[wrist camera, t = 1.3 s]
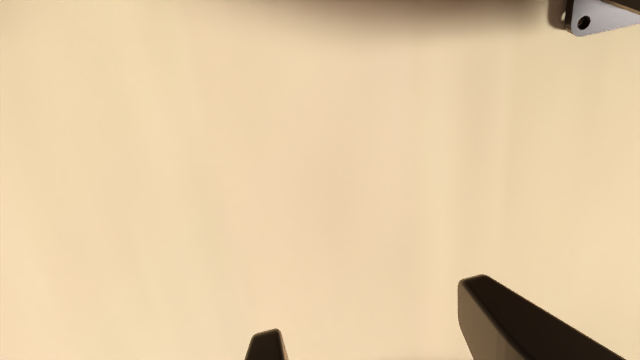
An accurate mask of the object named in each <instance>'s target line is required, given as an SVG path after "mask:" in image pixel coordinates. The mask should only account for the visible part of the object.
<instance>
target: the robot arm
mask: <svg viewBox="0 0 640 360" xmlns="http://www.w3.org/2000/svg"><path fill="white" fill-rule="evenodd" d="M583 16H584V19H583V22H582V23H581V24H580V25H579V26H577V24H578V21H579V20H580V18H581V17H583ZM636 24H640V0H567V5H566V14H565V28H566V30H567V31H568V32H570V33H571V34H574V35H576V36H586V35H591V34H595V33H600V32H604V31H609V30H613V29H618V28H622V27H627V26H631V25H636ZM458 321H459V325H460V328H461V331H462V333H463V336H464V338H465V340H466V343H467V345H468V347H469V349H470V352H471V354H472V356H473V359H474V360H626V359H624V358H622V357H621V356H619V355H617V354H616V353H614V352H613V351H611V350H609V349H608V348H606V347H604V346H603V345H601V344H599V343H598V342H596V341H594V340H593V339H591V338H589V337H588V336H586V335H585V334H583V333H581V332H580V331H578V330H576V329H575V328H573V327H571V326H570V325H568V324H566V323H565V322H563V321H561V320H560V319H558V318H557V317H555V316H553V315H552V314H550V313H548V312H547V311H545V310H543V309H542V308H540V307H538V306H537V305H535V304H533V303H532V302H530V301H529V300H527V299H525V298H524V297H522V296H520V295H519V294H517V293H515V292H514V291H512V290H510V289H509V288H507V287H505V286H504V285H502V284H501V283H499V282H497V281H496V280H494V279H492V278H491V277H489V276H487V275H483V274H481V275H476V276H472V277H469V278H465V279H462V280H460V281H459V284H458ZM245 360H288V356H287V353H286V349H285V345H284V342H283V338H282V334H281V332H280V330H279V329H272V330H268V331H264V332H260V333H257V334H255V335H254V336H253V337H252V339H251V341H250V344H249V348H248V351H247V354H246V357H245Z"/></svg>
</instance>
